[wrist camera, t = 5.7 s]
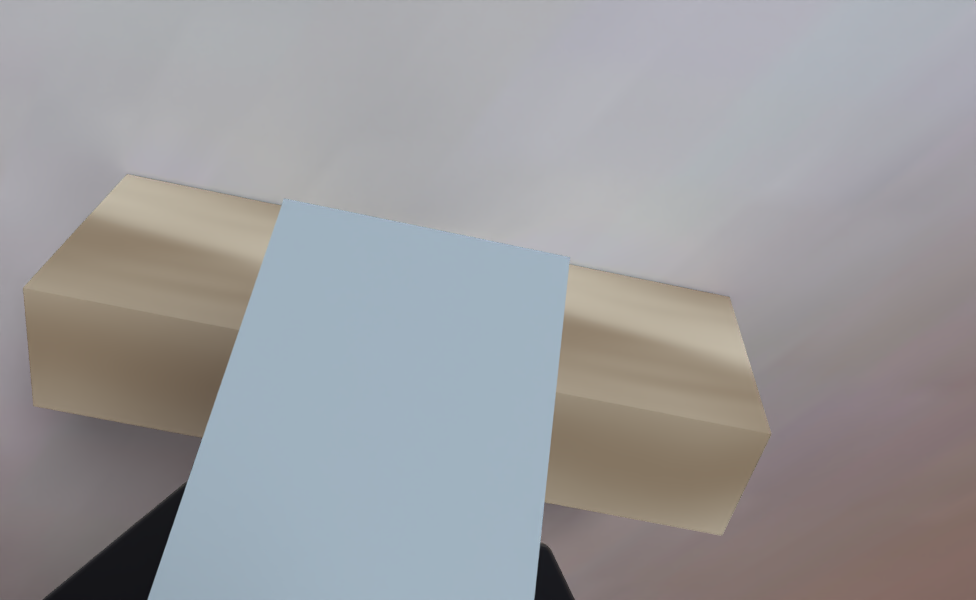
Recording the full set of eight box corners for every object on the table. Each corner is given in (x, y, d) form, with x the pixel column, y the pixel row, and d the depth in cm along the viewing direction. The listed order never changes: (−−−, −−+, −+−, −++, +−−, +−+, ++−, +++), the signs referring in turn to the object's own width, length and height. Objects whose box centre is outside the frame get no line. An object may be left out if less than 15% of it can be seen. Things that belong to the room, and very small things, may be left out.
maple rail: (691, 389, 21) (721, 535, 18) (128, 278, 21) (33, 406, 17) (729, 297, 20) (771, 434, 16) (127, 173, 19) (23, 288, 15)
